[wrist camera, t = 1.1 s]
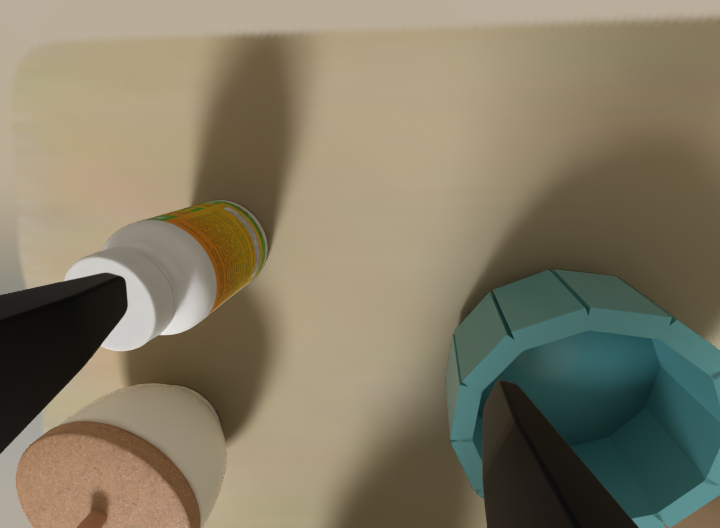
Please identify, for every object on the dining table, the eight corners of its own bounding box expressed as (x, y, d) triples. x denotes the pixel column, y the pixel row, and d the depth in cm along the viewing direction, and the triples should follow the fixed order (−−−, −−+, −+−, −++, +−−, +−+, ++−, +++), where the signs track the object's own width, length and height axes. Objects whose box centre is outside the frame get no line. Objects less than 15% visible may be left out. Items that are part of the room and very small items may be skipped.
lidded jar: (90, 404, 30) (-51, 515, 21) (173, 327, 27) (48, 420, 18) (189, 499, 31) (97, 640, 23) (281, 436, 28) (214, 573, 19)
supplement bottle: (230, 180, 23) (100, 206, 14) (287, 254, 24) (200, 325, 15) (170, 232, 25) (18, 286, 15) (225, 299, 25) (113, 389, 16)
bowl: (631, 463, 24) (694, 561, 19) (434, 429, 26) (437, 510, 20) (698, 280, 21) (801, 333, 15) (463, 253, 22) (476, 292, 16)
